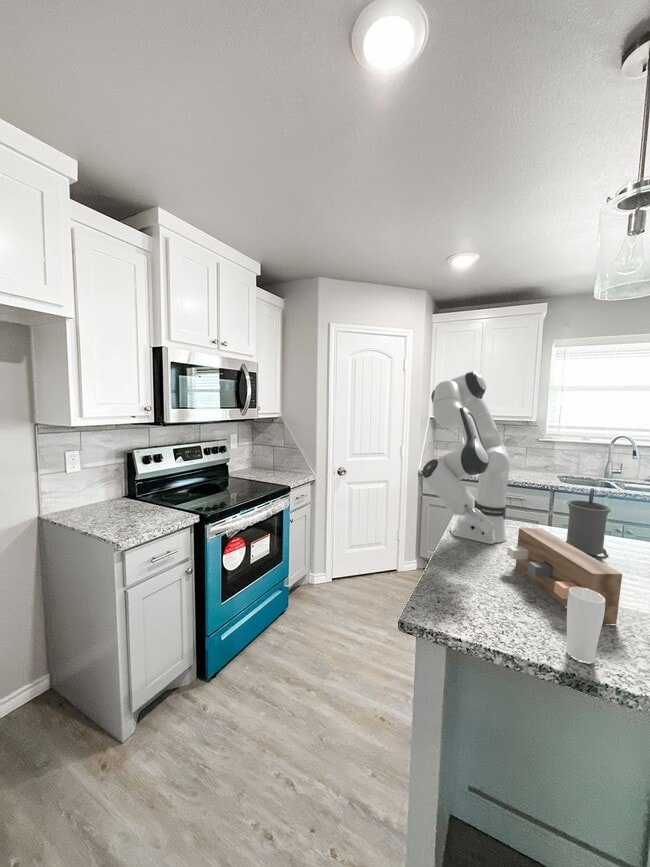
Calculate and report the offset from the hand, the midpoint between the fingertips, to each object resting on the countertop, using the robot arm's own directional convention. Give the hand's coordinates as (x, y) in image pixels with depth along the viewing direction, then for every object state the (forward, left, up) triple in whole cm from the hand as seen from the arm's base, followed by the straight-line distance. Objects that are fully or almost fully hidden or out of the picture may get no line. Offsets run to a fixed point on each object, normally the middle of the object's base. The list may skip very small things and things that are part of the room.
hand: (486, 530), depth 121 cm
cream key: (+10, +4, -9) cm, 14 cm away
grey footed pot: (+37, +35, -14) cm, 53 cm away
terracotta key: (+20, -17, -9) cm, 28 cm away
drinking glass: (+19, -36, -14) cm, 43 cm away
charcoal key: (+15, -6, -9) cm, 19 cm away
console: (+21, -4, -14) cm, 26 cm away
